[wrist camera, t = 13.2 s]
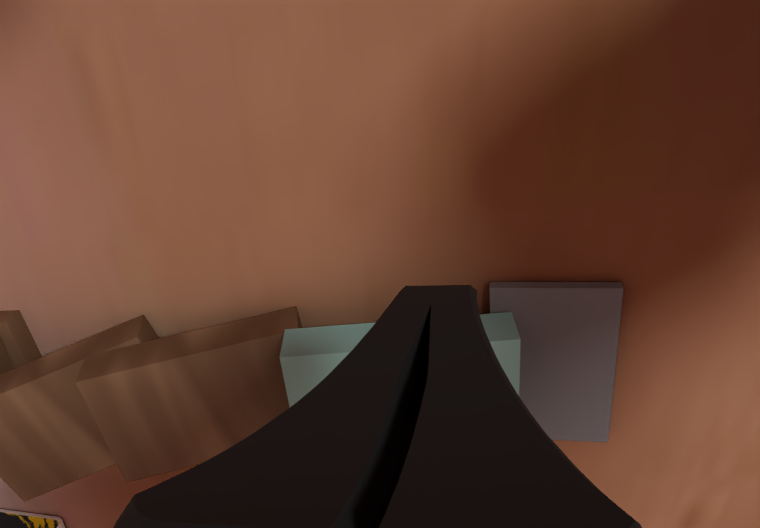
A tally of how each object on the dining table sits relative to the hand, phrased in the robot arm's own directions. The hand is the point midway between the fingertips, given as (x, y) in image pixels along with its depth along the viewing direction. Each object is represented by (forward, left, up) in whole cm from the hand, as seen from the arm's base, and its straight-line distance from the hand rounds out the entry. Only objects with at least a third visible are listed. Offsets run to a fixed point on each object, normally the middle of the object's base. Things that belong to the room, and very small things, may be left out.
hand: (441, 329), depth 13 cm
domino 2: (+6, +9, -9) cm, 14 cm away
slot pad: (-3, +9, -10) cm, 13 cm away
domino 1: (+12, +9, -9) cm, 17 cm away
